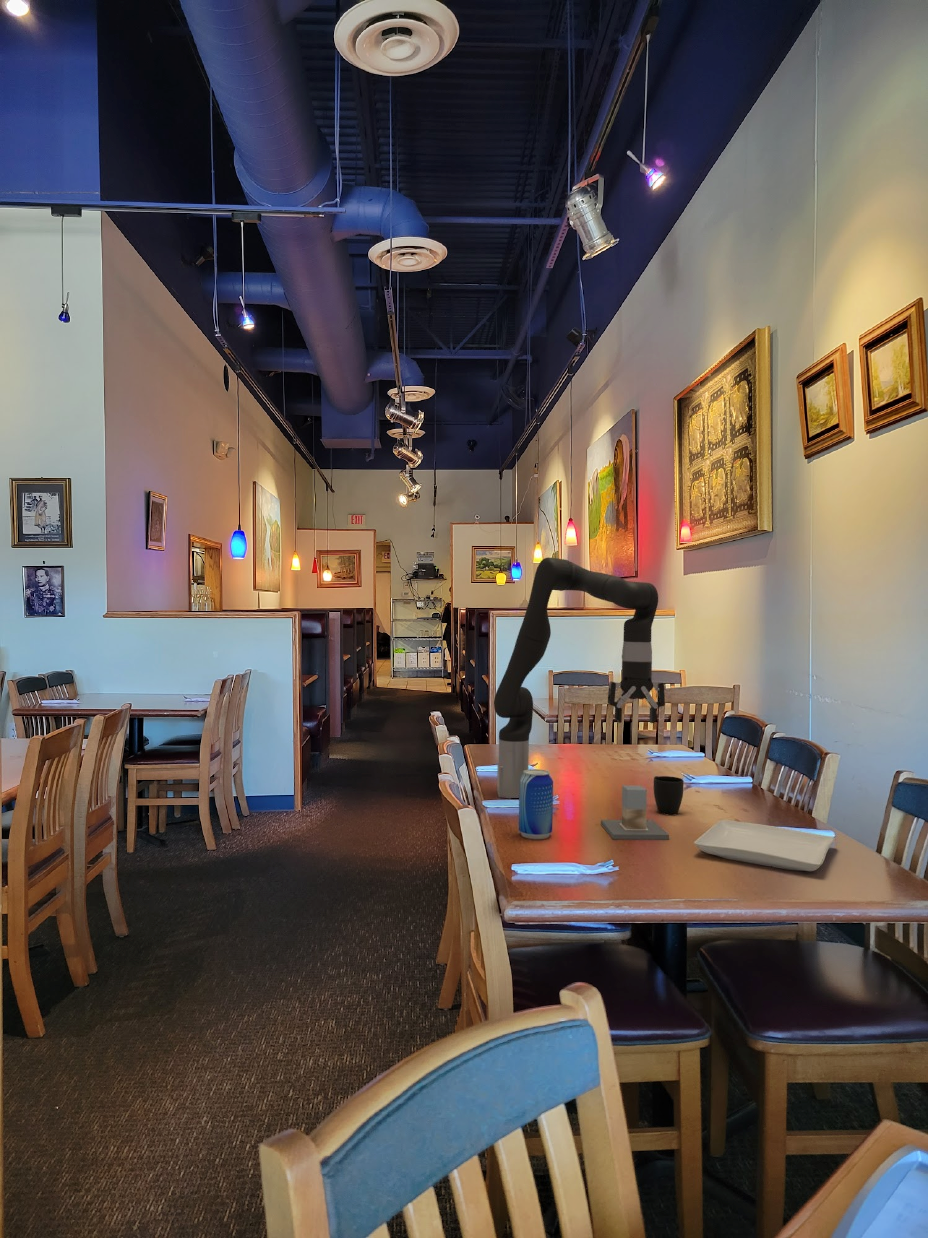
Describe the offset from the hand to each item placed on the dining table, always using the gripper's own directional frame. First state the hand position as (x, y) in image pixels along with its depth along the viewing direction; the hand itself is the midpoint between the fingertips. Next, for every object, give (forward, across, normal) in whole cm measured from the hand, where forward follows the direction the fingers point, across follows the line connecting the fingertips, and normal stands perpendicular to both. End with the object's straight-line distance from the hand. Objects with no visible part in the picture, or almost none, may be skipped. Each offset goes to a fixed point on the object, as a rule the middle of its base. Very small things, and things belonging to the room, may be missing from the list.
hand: (635, 722), depth 198 cm
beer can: (+28, -26, -4) cm, 39 cm away
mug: (+28, +15, +22) cm, 39 cm away
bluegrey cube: (+22, 0, 0) cm, 22 cm away
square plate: (+29, +27, -17) cm, 43 cm away
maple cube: (+27, 0, 0) cm, 27 cm away
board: (+28, 0, 0) cm, 28 cm away
